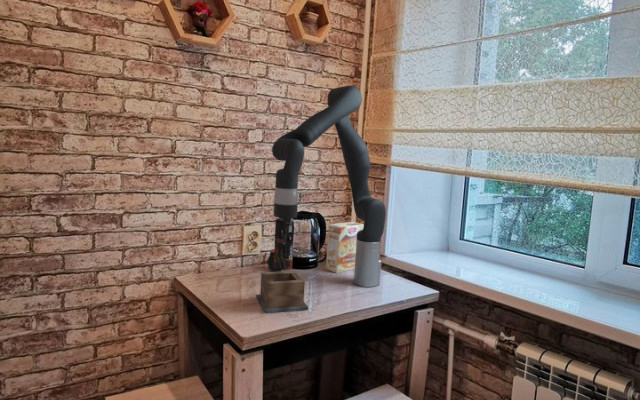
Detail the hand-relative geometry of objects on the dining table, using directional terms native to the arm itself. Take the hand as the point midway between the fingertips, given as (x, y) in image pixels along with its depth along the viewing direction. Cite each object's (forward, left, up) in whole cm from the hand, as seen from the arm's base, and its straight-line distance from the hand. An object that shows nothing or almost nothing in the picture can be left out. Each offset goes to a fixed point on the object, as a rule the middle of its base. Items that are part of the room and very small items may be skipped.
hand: (283, 253), depth 140 cm
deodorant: (0, 0, -5) cm, 5 cm away
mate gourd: (-7, -37, -17) cm, 41 cm away
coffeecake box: (-36, -34, -17) cm, 52 cm away
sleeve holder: (0, 0, -17) cm, 17 cm away
